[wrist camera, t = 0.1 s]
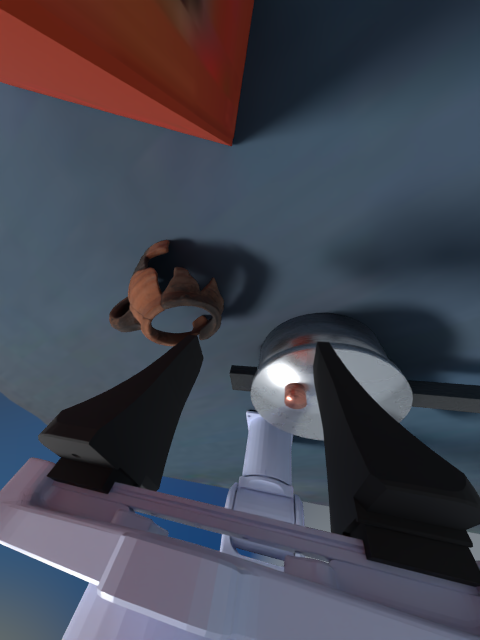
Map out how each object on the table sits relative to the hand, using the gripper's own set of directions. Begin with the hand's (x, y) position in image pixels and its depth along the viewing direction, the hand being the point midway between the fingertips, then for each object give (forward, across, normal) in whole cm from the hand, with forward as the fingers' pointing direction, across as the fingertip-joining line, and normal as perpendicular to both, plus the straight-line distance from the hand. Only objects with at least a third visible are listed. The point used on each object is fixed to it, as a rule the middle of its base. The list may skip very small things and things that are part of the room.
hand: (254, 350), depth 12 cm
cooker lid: (+5, -9, +13) cm, 17 cm away
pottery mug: (+10, +10, +1) cm, 15 cm away
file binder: (+10, +9, -17) cm, 22 cm away
